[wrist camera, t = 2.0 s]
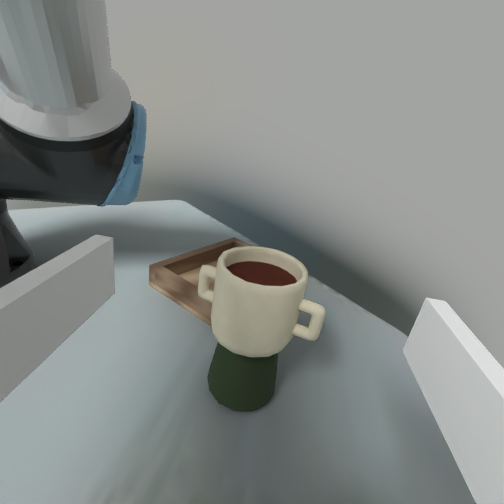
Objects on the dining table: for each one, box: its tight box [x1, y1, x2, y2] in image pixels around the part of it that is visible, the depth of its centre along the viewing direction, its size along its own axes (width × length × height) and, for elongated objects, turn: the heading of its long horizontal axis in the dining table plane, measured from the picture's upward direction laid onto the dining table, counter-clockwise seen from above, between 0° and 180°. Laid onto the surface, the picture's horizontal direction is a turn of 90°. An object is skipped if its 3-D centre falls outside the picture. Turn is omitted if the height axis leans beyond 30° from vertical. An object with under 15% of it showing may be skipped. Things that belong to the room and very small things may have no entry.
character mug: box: [198, 246, 326, 411], centre depth 26 cm, size 11×7×13 cm, turn 66°
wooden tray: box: [149, 238, 251, 326], centre depth 45 cm, size 13×17×3 cm
